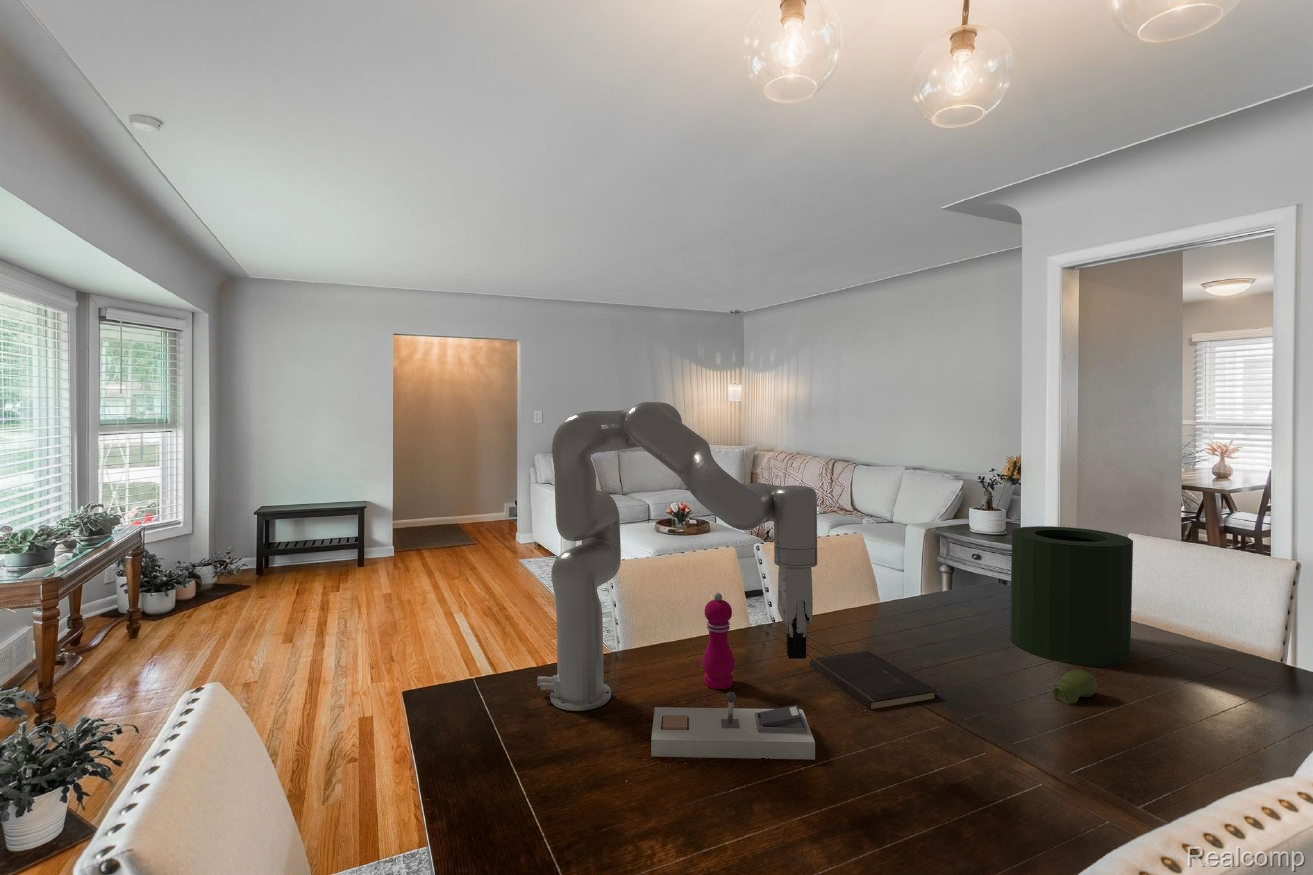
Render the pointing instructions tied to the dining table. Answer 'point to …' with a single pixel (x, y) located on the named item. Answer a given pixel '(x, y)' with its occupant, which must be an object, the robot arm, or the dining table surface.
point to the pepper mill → (718, 645)
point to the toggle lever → (730, 705)
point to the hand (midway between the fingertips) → (796, 656)
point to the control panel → (730, 735)
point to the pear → (1075, 686)
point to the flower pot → (1072, 595)
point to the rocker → (780, 716)
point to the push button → (674, 722)
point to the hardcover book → (872, 679)
